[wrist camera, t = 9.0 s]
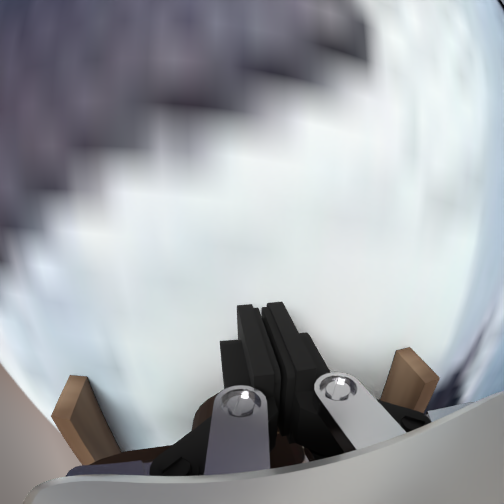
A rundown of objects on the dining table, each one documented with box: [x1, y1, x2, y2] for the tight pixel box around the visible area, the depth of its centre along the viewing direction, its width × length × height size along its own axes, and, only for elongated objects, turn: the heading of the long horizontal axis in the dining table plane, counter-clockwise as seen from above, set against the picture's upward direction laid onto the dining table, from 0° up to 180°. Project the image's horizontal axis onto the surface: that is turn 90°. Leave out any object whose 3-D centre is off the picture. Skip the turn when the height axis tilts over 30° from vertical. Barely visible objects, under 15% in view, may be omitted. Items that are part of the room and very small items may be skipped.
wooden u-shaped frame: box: [51, 347, 439, 465], centre depth 14 cm, size 18×15×3 cm
